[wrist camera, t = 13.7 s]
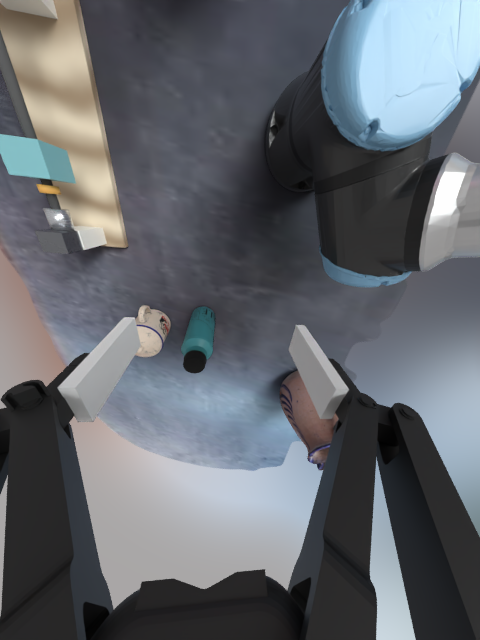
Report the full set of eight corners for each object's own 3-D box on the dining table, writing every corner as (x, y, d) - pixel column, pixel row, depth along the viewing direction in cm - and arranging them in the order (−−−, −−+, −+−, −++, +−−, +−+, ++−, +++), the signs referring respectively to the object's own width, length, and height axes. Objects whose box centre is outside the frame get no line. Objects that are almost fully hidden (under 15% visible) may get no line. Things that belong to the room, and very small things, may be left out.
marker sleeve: (29, 145, 27) (-9, 133, 22) (66, 150, 27) (37, 139, 23) (41, 179, 29) (9, 174, 24) (76, 183, 29) (50, 179, 25)
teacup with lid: (173, 336, 53) (161, 365, 43) (140, 335, 52) (120, 364, 42) (169, 298, 47) (154, 322, 37) (131, 296, 46) (106, 320, 36)
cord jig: (-19, -32, 23) (-232, -244, 12) (76, -11, 24) (-42, -188, 13) (73, 241, 39) (16, 253, 28) (128, 246, 40) (93, 259, 30)
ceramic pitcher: (270, 394, 70) (290, 476, 48) (283, 351, 59) (316, 431, 38) (314, 395, 72) (352, 474, 50) (334, 353, 61) (393, 431, 40)
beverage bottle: (190, 321, 51) (172, 377, 34) (194, 299, 48) (177, 349, 31) (213, 326, 52) (207, 382, 35) (219, 305, 49) (215, 356, 32)
